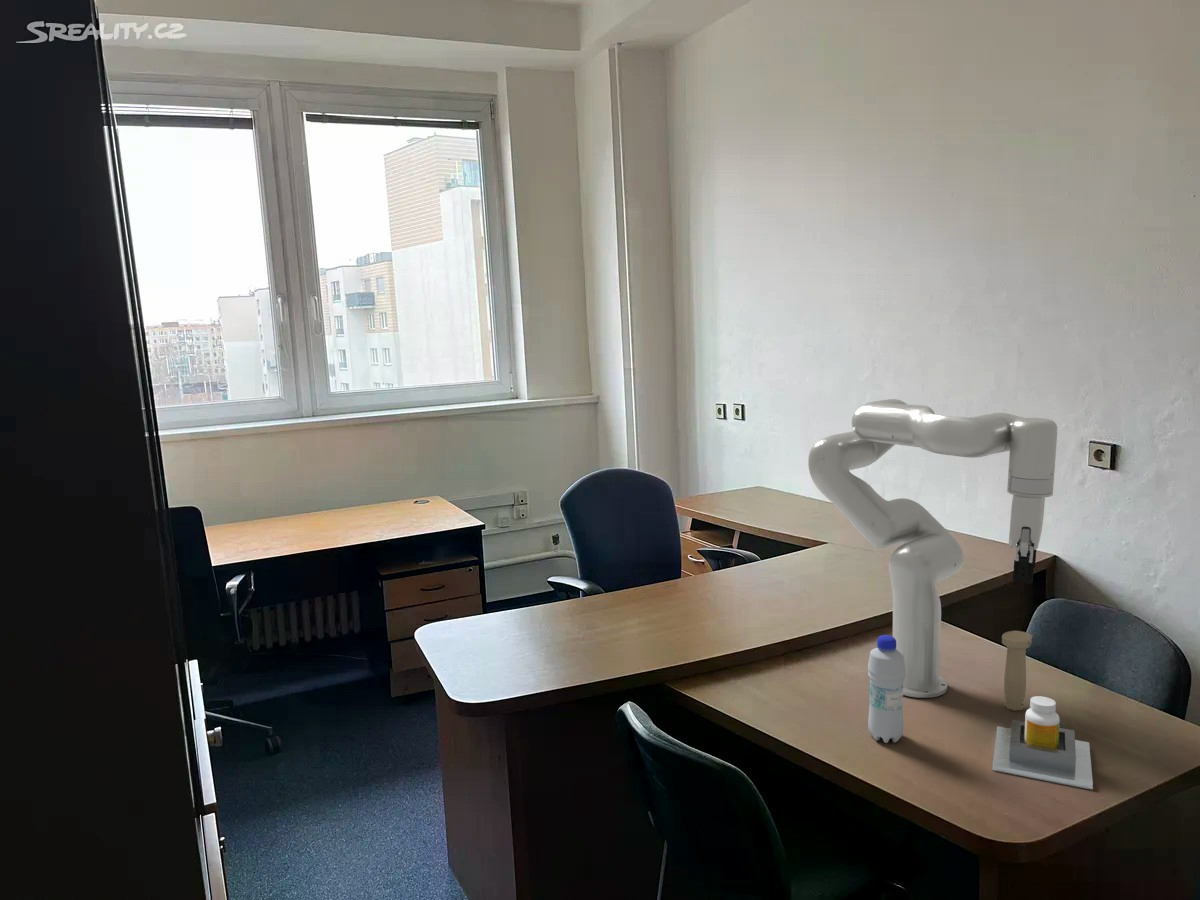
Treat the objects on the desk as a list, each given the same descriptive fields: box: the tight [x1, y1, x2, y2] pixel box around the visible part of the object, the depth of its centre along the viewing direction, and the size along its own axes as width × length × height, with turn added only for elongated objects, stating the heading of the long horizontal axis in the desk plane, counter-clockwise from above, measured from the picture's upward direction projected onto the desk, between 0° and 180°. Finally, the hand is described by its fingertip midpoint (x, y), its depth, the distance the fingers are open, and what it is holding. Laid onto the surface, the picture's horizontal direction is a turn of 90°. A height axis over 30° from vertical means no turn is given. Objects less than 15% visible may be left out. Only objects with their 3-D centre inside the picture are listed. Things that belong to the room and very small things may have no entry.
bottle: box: [867, 634, 906, 744], centre depth 156 cm, size 7×7×20 cm
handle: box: [1001, 630, 1033, 712], centre depth 166 cm, size 5×6×15 cm
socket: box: [991, 719, 1094, 790], centre depth 148 cm, size 15×15×4 cm
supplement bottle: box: [1024, 695, 1061, 749], centre depth 148 cm, size 5×5×10 cm
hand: (1024, 574), depth 157 cm, fingers open, 9 cm apart
